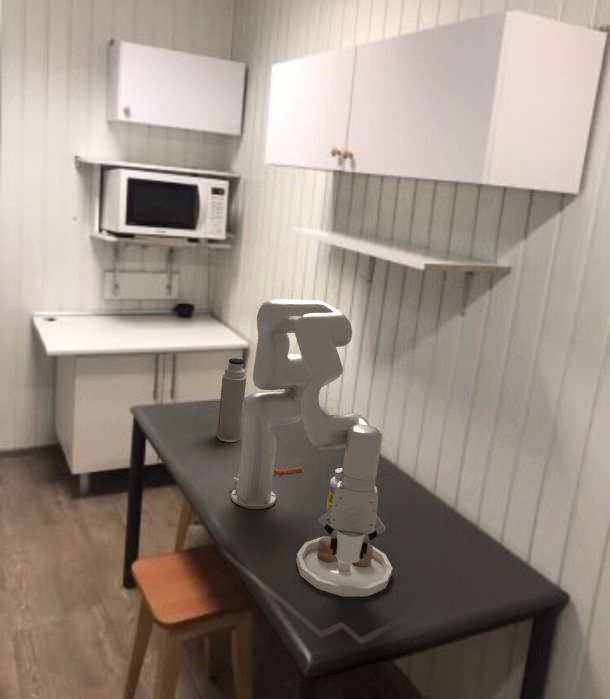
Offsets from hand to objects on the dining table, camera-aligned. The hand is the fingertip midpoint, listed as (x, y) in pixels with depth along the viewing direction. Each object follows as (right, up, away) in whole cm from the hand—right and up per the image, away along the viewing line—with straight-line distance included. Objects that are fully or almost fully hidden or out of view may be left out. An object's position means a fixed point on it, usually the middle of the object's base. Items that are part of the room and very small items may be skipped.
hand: (347, 553), depth 156 cm
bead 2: (+4, -5, +11) cm, 13 cm away
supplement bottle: (-1, 0, +36) cm, 36 cm away
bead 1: (-4, -4, +12) cm, 13 cm away
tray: (-1, -7, +8) cm, 10 cm away
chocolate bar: (-16, +7, +57) cm, 60 cm away
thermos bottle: (-36, +16, +79) cm, 89 cm away
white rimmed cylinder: (0, -1, 0) cm, 1 cm away
